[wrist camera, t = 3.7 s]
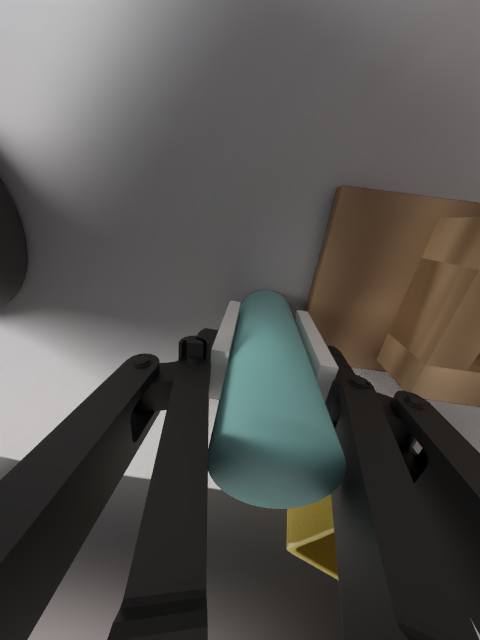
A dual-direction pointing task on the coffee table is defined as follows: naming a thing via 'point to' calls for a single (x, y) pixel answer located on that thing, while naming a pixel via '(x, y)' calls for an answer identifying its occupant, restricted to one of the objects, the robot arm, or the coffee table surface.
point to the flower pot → (313, 535)
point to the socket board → (403, 290)
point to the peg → (273, 415)
